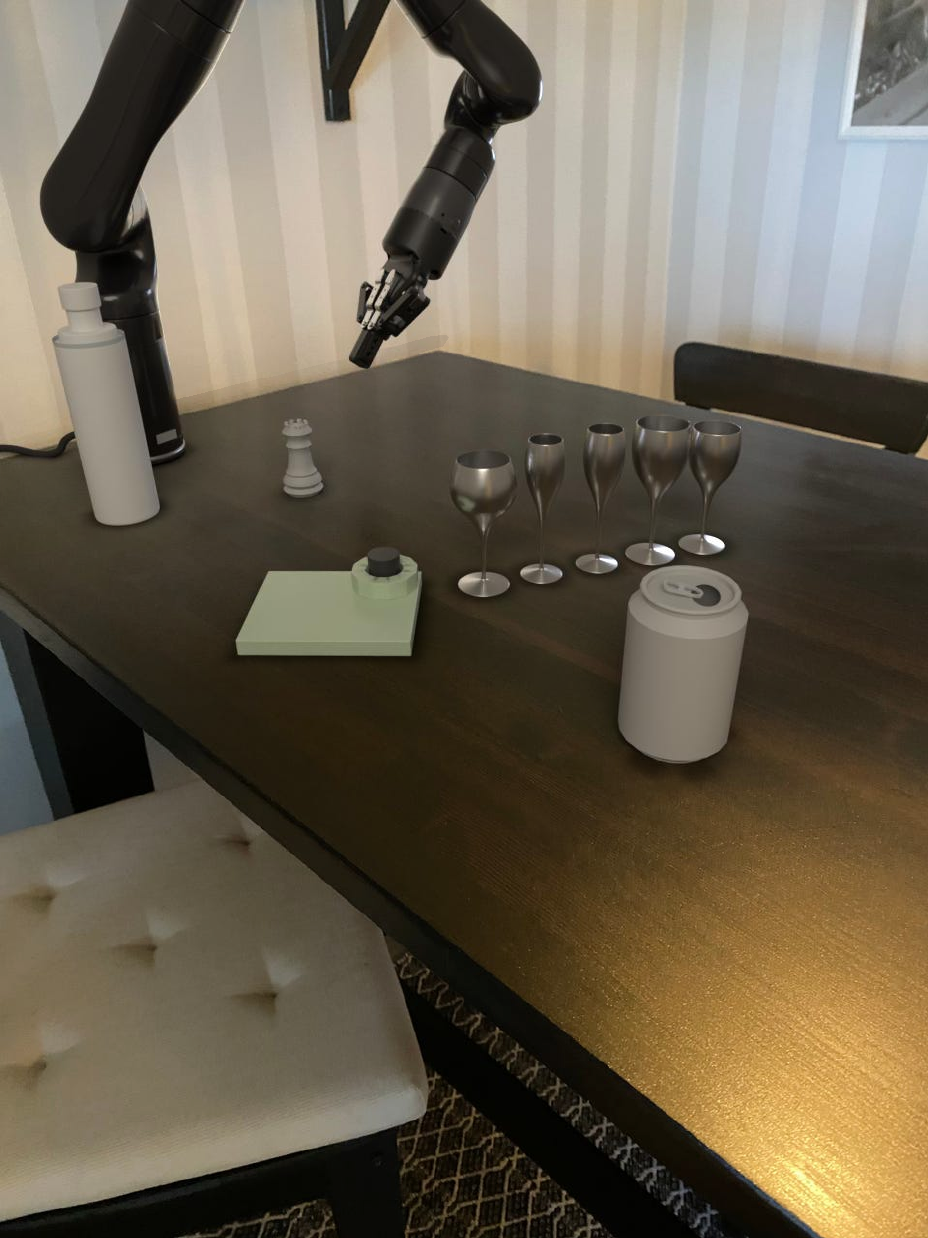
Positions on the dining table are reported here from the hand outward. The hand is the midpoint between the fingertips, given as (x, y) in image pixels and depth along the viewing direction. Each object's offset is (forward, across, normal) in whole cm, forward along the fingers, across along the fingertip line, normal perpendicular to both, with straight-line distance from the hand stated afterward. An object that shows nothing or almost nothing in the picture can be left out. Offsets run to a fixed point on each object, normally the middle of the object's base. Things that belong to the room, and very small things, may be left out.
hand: (357, 364), depth 101 cm
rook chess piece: (+16, +1, +1) cm, 16 cm away
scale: (+23, +28, -5) cm, 37 cm away
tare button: (+18, +28, -2) cm, 33 cm away
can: (+18, +56, +7) cm, 59 cm away
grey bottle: (+26, -4, -14) cm, 30 cm away
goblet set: (+9, +33, +15) cm, 37 cm away
